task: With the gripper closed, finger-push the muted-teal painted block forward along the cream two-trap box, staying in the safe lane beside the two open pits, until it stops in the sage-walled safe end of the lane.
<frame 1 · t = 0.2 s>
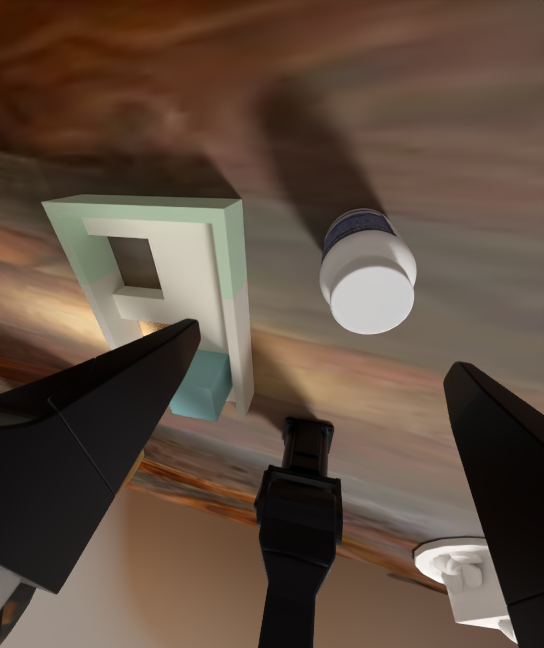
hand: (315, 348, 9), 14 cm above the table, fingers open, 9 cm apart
pill bottle: (357, 242, 21), on the table
block: (210, 367, 30), point 2 cm above the table, touching trap box
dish: (487, 563, 48), on the table
trap box: (181, 314, 29), on the table
ceramic pitcher: (104, 414, 46), on the table
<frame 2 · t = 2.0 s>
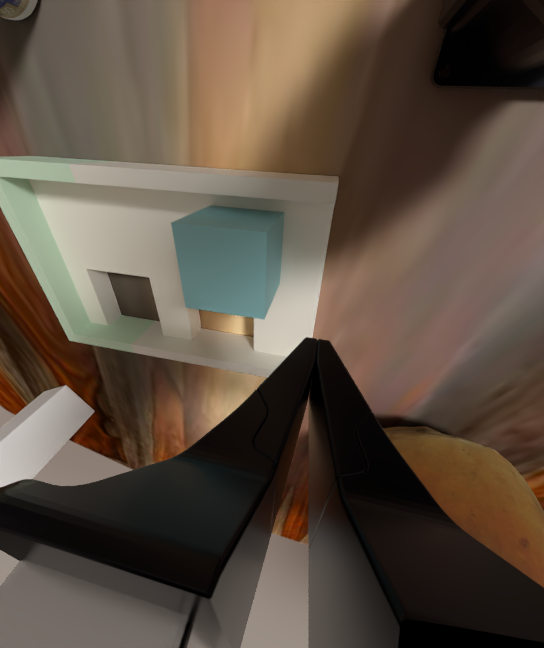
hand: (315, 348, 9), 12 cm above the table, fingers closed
milk: (71, 399, 40), on the table
block: (247, 246, 18), point 2 cm above the table, touching trap box
trap box: (193, 272, 23), on the table
ceramic pitcher: (403, 456, 31), on the table
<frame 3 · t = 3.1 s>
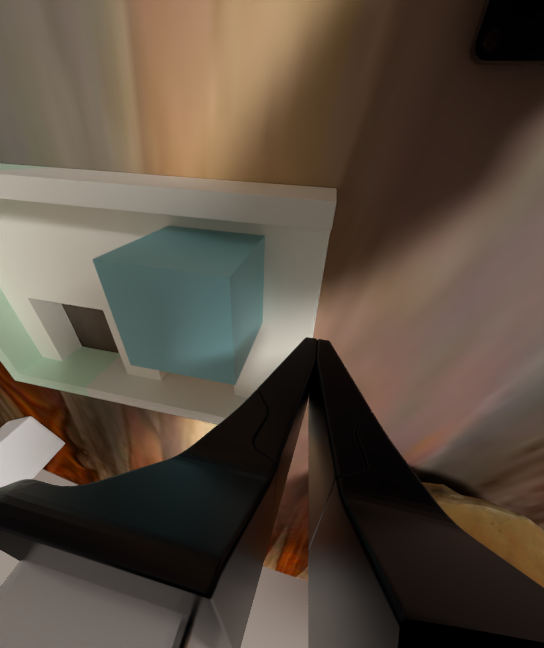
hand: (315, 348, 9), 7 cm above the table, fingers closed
milk: (39, 430, 36), on the table
block: (219, 277, 14), point 2 cm above the table, touching trap box
trap box: (160, 302, 18), on the table
ceramic pitcher: (412, 504, 27), on the table
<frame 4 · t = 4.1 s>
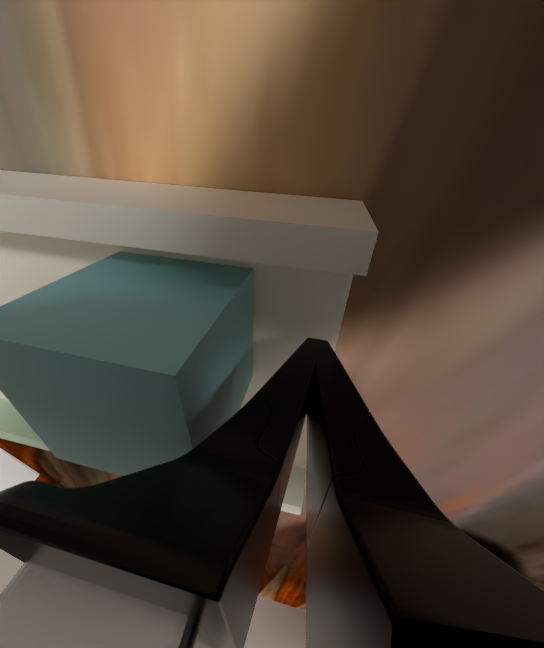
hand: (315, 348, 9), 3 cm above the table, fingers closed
milk: (10, 460, 32), on the table
block: (193, 319, 10), point 2 cm above the table, touching gripper, trap box
trap box: (130, 337, 15), on the table
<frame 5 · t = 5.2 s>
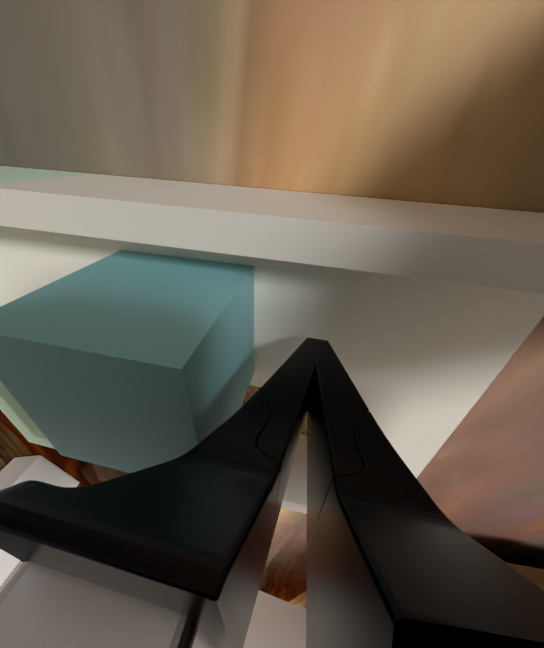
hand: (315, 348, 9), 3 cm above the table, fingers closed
milk: (49, 467, 31), on the table
block: (194, 317, 10), point 2 cm above the table, touching gripper, trap box
trap box: (224, 350, 14), on the table
ceramic pitcher: (498, 572, 23), on the table
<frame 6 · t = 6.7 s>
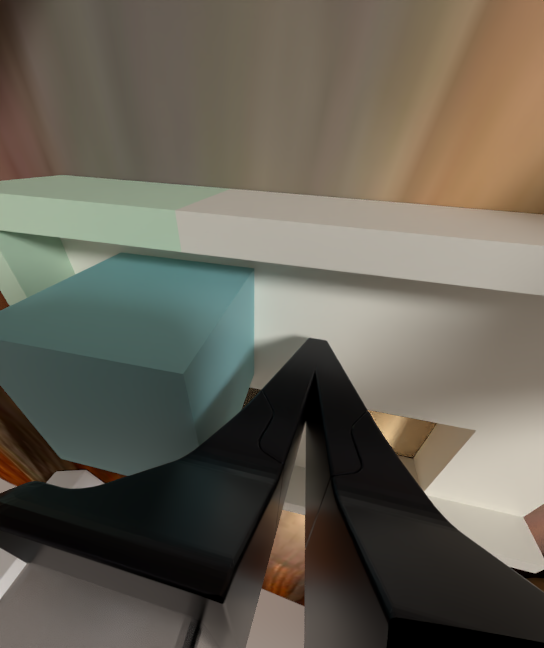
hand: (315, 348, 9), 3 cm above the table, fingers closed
milk: (91, 481, 31), on the table
block: (194, 319, 10), point 2 cm above the table, touching gripper, trap box
trap box: (331, 371, 13), on the table
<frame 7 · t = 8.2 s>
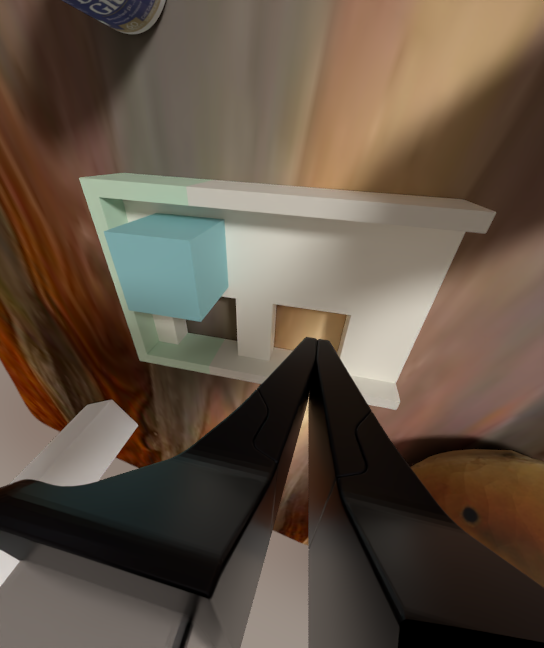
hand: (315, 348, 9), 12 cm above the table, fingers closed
milk: (114, 413, 39), on the table
block: (194, 252, 19), point 2 cm above the table, touching trap box
trap box: (277, 292, 22), on the table
ceramic pitcher: (468, 475, 30), on the table
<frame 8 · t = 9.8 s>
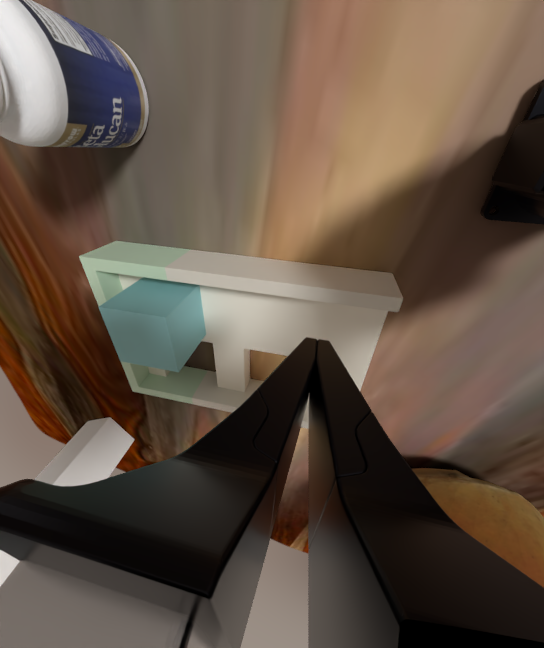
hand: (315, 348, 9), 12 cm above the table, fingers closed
pill bottle: (115, 98, 17), on the table
milk: (112, 428, 43), on the table
block: (176, 306, 23), point 2 cm above the table, touching trap box
trap box: (249, 335, 25), on the table
ceramic pitcher: (429, 488, 33), on the table
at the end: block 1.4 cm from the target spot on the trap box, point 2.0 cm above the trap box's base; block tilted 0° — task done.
